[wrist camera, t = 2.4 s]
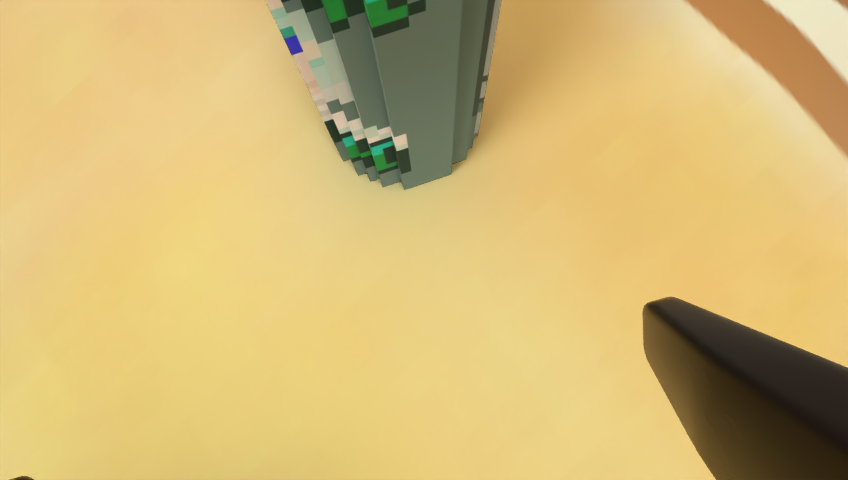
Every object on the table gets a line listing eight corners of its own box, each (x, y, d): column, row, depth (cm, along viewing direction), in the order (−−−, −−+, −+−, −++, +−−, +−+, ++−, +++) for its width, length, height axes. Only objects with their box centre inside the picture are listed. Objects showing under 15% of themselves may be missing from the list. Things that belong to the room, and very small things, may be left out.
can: (315, 77, 25) (132, -340, 10) (448, 34, 25) (462, -434, 10) (357, 205, 23) (221, -53, 9) (496, 158, 24) (592, -168, 9)
